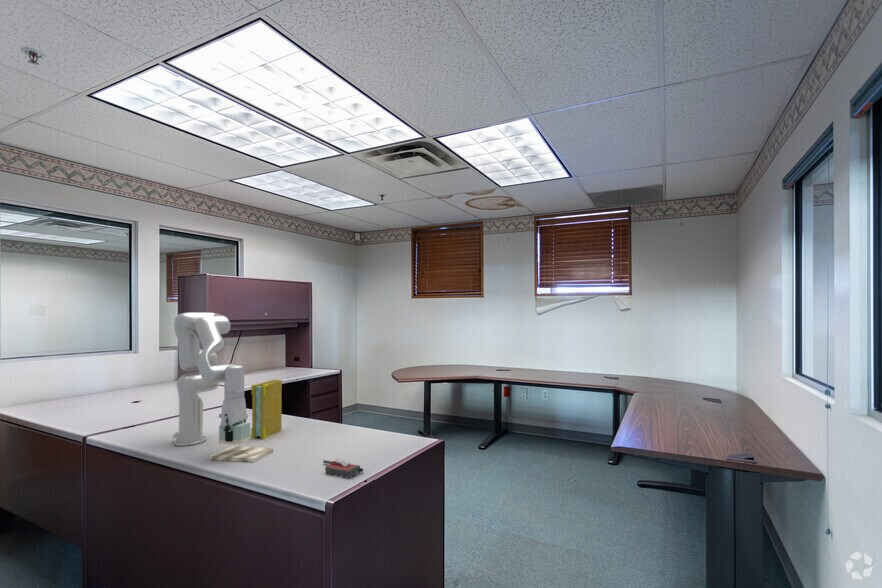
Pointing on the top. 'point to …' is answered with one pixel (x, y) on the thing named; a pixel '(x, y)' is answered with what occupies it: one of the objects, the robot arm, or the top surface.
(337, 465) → the walkie-talkie
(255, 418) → the book
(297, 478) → the top surface
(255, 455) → the board
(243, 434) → the block
